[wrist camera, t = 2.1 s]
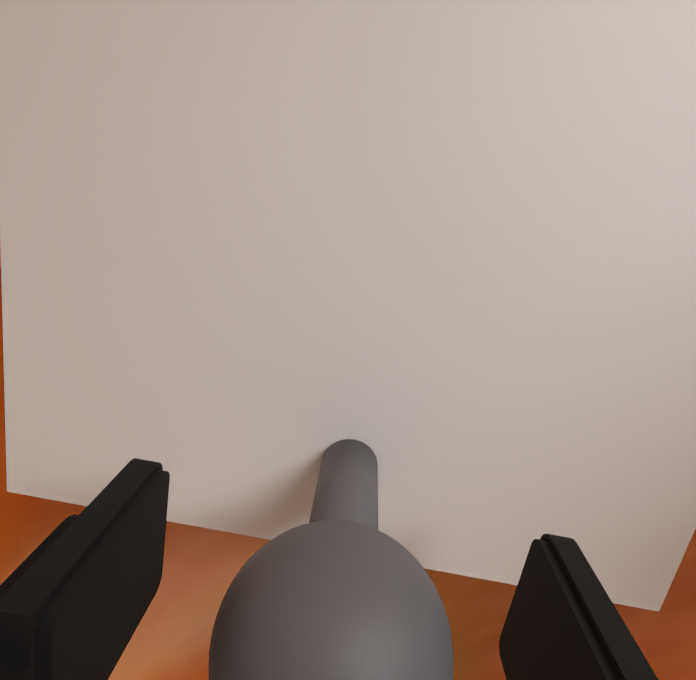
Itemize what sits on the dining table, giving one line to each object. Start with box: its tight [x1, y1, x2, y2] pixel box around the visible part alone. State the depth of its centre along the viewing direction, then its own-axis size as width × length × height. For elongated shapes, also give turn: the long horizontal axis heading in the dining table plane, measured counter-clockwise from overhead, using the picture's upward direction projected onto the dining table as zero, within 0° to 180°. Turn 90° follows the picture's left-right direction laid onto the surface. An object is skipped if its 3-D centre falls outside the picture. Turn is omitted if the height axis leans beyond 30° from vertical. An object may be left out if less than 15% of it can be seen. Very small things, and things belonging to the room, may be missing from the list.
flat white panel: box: [0, 0, 696, 680], centre depth 9 cm, size 16×20×8 cm
